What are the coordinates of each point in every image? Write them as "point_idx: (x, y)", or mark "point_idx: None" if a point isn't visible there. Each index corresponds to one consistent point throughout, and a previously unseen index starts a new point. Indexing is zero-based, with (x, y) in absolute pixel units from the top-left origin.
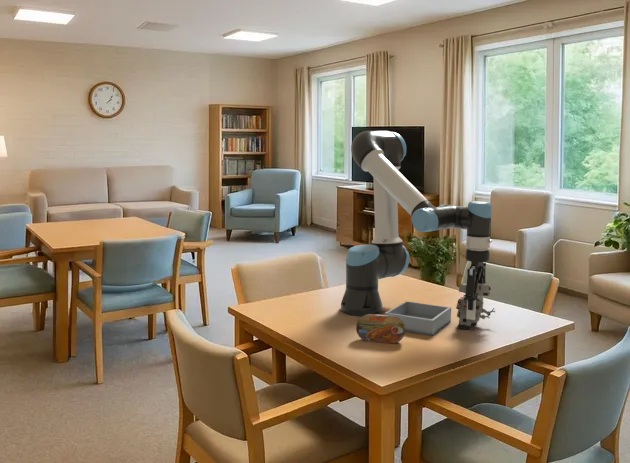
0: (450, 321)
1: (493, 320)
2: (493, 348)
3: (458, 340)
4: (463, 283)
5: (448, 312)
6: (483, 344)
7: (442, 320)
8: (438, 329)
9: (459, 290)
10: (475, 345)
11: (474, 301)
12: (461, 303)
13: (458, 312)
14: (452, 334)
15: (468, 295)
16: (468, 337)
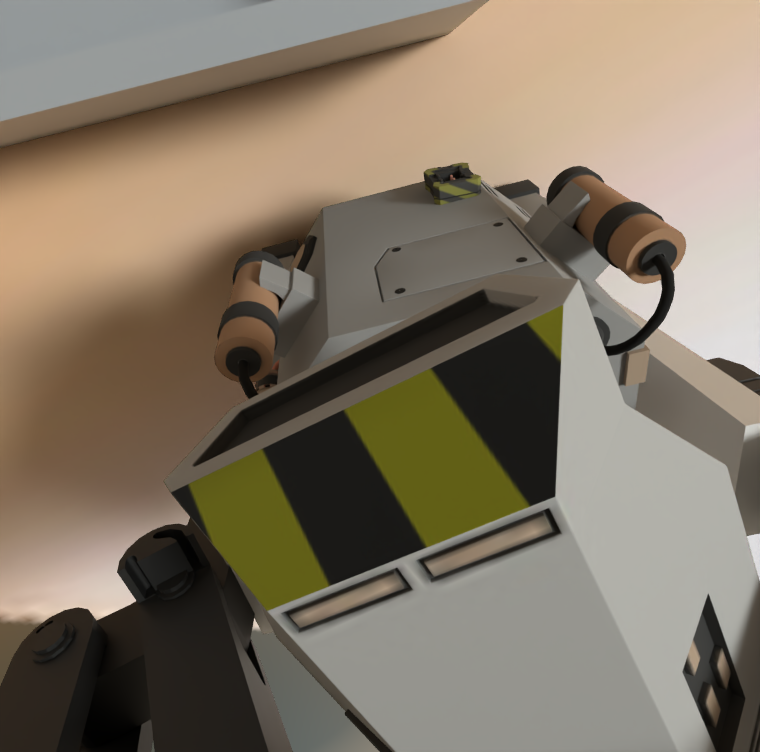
0: (440, 35)
1: (724, 342)
2: (95, 613)
3: (2, 416)
4: (536, 569)
5: (350, 39)
6: (103, 554)
7: (109, 108)
8: (16, 140)
9: (203, 457)
10: (35, 535)
11: (259, 611)
12: (300, 341)
13: (304, 254)
14: (80, 302)
15: (156, 653)
16: (138, 428)
